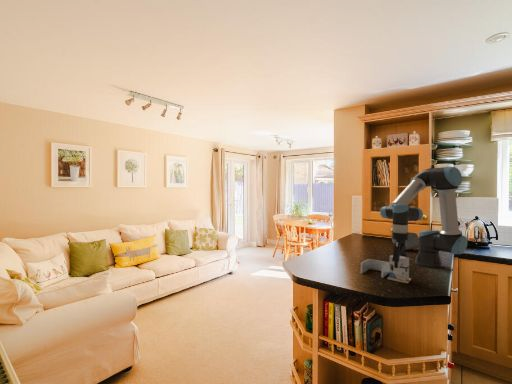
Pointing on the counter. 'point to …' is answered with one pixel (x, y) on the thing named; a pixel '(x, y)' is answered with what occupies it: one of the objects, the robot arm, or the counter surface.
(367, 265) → the cradle
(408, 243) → the bowl
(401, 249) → the robot arm
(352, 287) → the counter surface
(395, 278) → the pad
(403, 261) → the ink box
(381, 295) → the counter surface
